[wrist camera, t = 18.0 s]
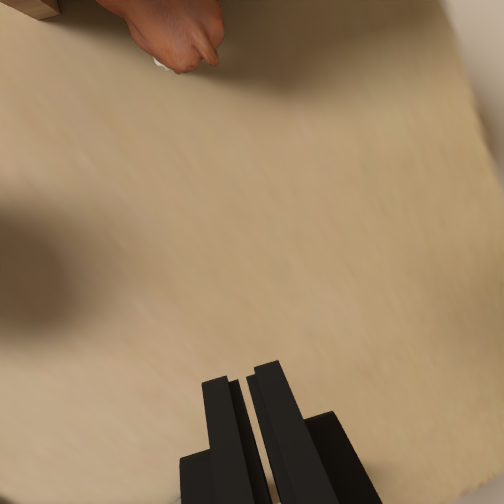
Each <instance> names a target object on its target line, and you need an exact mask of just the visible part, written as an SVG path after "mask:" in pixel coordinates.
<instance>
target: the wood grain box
mask: <svg viewBox="0 0 504 504" xmlns="http://www.w3.org/2000/svg"><path fill="white" fill-rule="evenodd" d="M0 2H2V3H4V4H6V5H8V6H10V7H12V8H14V9H16V10H18V11H20V12H22V13H24V14H26V15H28V16H30V17H32V18H34V19H36V20H40V19H44V18H48V17H52V16H56V15H60V14H61V13H60V10H59V7H58V4H57V1H56V0H0Z"/></svg>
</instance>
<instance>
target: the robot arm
mask: <svg viewBox="0 0 504 504" xmlns="http://www.w3.org/2000/svg"><path fill="white" fill-rule="evenodd" d="M254 371H255V374H254V375H251V376H247V377H246V379H247V383H248V386H249V390H250V394H251V397H252V401H253V405H254V408H255V412H256V416H257V419H258V423H259V427H260V430H261V434H262V438H263V441H264V445H265V448H266V452H267V456H268V459H269V463H270V467H271V470H272V474H273V478H274V481H275V485H276V488H277V492H278V495H279V499H280V502H281V504H383V503H382V501H381V499H380V498H379V496H378V494H377V492H376V490H375V488H374V486H373V484H372V482H371V481H370V479H369V477H368V475H367V473H366V471H365V469H364V467H363V465H362V464H361V462H360V460H359V458H358V456H357V454H356V452H355V450H354V448H353V446H352V445H351V443H350V441H349V439H348V437H347V435H346V433H345V431H344V429H343V428H342V426H341V424H340V422H339V420H338V418H337V416H336V415H335V413H334V412H333V411H330V412H326V413H323V414H320V415H317V416H314V417H310V418H307V419H303V417H302V415H301V412H300V410H299V408H298V405H297V403H296V401H295V398H294V396H293V394H292V391H291V389H290V386H289V384H288V382H287V379H286V377H285V375H284V372H283V370H282V368H281V365H280V363H279V361H278V360H276V361H273V362H270V363H266V364H263V365H260V366H256V367H254ZM202 391H203V399H204V406H205V414H206V422H207V429H208V437H209V445H210V449H208V450H205V451H201V452H198V453H195V454H192V455H189V456H185V457H182V458H180V466H179V468H180V491H181V504H273V503H272V499H271V495H270V492H269V488H268V484H267V480H266V477H265V473H264V470H263V466H262V463H261V459H260V455H259V452H258V448H257V445H256V441H255V438H254V434H253V431H252V427H251V423H250V420H249V416H248V413H247V409H246V406H245V402H244V399H243V395H242V391H241V388H240V384H239V381H238V379H237V380H234V381H231V382H228V378H227V376H223V377H219V378H216V379H213V380H209V381H206V382H203V383H202Z"/></svg>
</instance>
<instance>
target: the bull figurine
mask: <svg viewBox="0 0 504 504" xmlns="http://www.w3.org/2000/svg"><path fill="white" fill-rule="evenodd" d="M95 1H96V2H97V3H99V4H100V5H101V6H103V7H104V8H105V9H107V10H109V11H111V12H112V13H114V14H116V15H118V16H121V17H122V18H123V19H124V20H125V21H126V22H127V24H128V27H129V31H130V34H131V36H132V38H133V39H134V41H135V42H136V43H137V44H138V45H139V46H140V47H141V48H142V49H143V50H144V51H146V52H147V53H148V54H150V55H151V56H152V59H153V60H154V62H155V63H156V64H157V65H158V66H160V67H164V68H165V69H166V70H167V71H170V70H173V71H174V72H175V73H176V74H180V73H181V72H184V73H185V72H189V71H192V70H193V69H195V68H196V67H197V66H198V65H199V64H200V62H201V61H202V59H204V60H205V61H206V62H207V63H209V64H210V65H212V66H217V65H218V64H219V59H218V54H217V50H216V48H217V47H218V46H219V45H220V44H221V42H222V40H223V38H224V34H225V29H224V23H223V19H222V13H221V8H220V5H219V3H218V1H217V0H95Z"/></svg>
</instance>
